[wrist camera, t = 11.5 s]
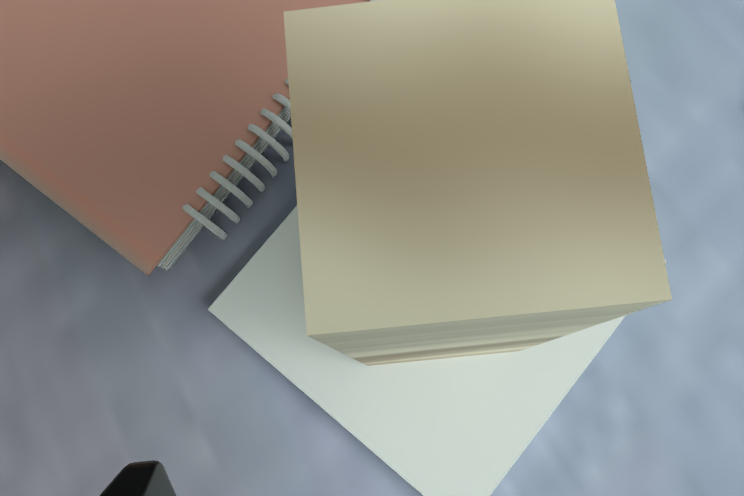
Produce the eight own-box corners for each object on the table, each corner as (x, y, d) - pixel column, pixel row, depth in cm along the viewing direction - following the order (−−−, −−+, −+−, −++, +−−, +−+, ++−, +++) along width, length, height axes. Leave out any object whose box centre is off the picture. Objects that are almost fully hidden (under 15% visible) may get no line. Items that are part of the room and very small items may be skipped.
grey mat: (661, 263, 22) (666, 260, 22) (462, 527, 21) (463, 530, 21) (409, 80, 24) (409, 74, 24) (212, 310, 23) (207, 309, 23)
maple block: (519, 351, 22) (672, 299, 9) (367, 366, 22) (306, 336, 9) (498, 205, 23) (609, -28, 10) (354, 220, 23) (283, 11, 10)
